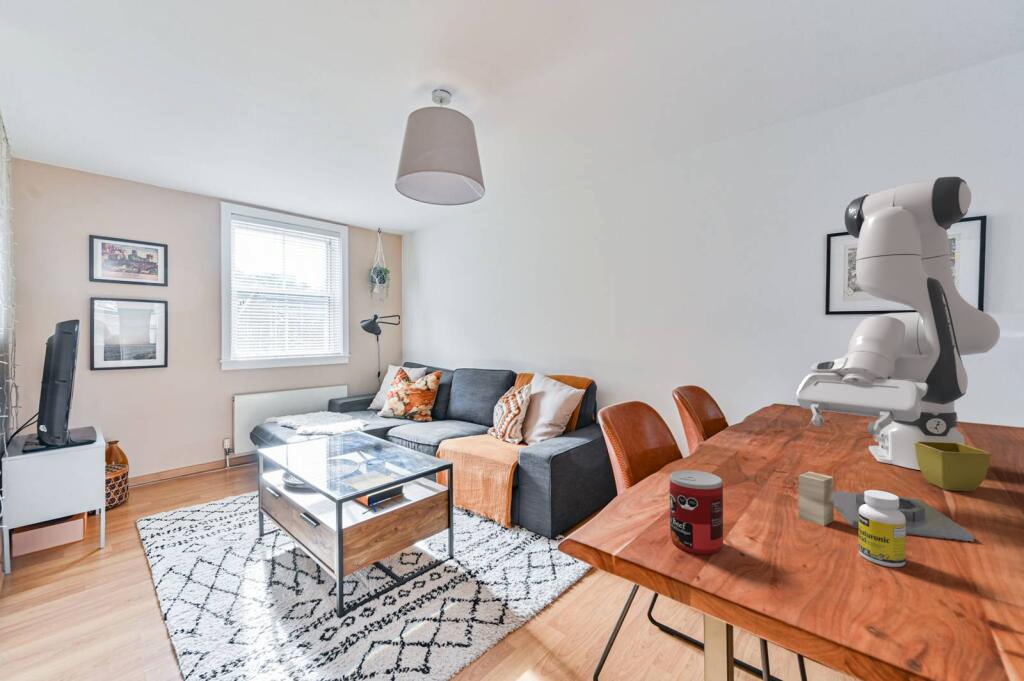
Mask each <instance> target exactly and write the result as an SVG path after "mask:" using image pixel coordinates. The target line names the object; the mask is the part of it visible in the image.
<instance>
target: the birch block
mask: <svg viewBox="0 0 1024 681" xmlns="http://www.w3.org/2000/svg"><path fill="white" fill-rule="evenodd" d="M834 484H835V483H834V476H831V475H825V474H821V473H816V472H814V471H809V470H808V471H807V472H804V473H801V474H799V475H798V519H800V520H803V521H806V522H809V523H812V524H816V525H819V526H822V527H825V526H827V525H828V524H830V523H832V522H834V520H835V518H834V517H835V514H834V512H835V511H834V510H835V507H834V491H835V490H834V488H835V487H834V486H835V485H834Z"/></svg>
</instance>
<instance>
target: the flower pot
mask: <svg viewBox="0 0 1024 681" xmlns="http://www.w3.org/2000/svg"><path fill="white" fill-rule="evenodd" d="M914 444H915V450H916V457H917V462H918V466H919V468H920V470H919V471H920V472H921V474H922V475H923V476H924V479H925V480H926V481H927V482H928V483H930V484H932V485H934V486H936V487H938V488H940V489H942V490H945V491H955V492H956V491H957V492H958V491H959V492H974V491H975V490H977V489H978V487H980V486H981V484H982V483H983V482H984V481H985V479H986V477H987V472H988V470H989V465H990V461H991V456H992V453H990V452H988V451H985V450H984V449H983V450H982V449H979V448H976V447H973V446H970V445H967V444H965V443H964V444H965V445H964V444H960V443H953V442H923V441H915V442H914Z"/></svg>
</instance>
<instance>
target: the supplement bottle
mask: <svg viewBox="0 0 1024 681" xmlns="http://www.w3.org/2000/svg"><path fill="white" fill-rule="evenodd" d="M863 493H864V499H865V502H866V504H863V505H861V506H860V508H859V528H858V552H859V555H861V557H862V558H864V559H866V560H868V561H869V562H872V563H874V564H877V565H879V566H880V565H881V566H884V567H890V568H899V567H903V566H905V565H906V560H907V559H906V558H907V557H906V553H907V550H906V548H907V544H906V543H907V541H906V538H907V536H906V535H907V534H906V520H905V516H904V514H903V513H902V512H901V511H899V510H897V508H899V497H900V496H899V497H898V495H896V494H894V493H891V492H888V491H884V490H883V491H882V490H876V489H868V490H864V491H863Z"/></svg>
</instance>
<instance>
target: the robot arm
mask: <svg viewBox="0 0 1024 681" xmlns="http://www.w3.org/2000/svg"><path fill="white" fill-rule="evenodd" d="M971 202H972V192H971V189H970V187H969V186H968V184H967V182H966V181H965V180H964V179H963V178H961V177H959V176H942V177H938V178H936V179H929V180H923V181H917V182H911V183H907V184H901V185H899V186H897V187H892V188H891V187H890V188H888V189H884V190H881V191H878V192H875V193H872V194H865V195H862V196H859V197H856V198H855V199H852V200H851V201H850V203H849V204H848V205H847V206H846V209H845V212H844V226H845V229H846V231H847V233H848V234H850V235H851V237H853V238H855V239H857V246H856V255H855V277H856V283H857V284H858V285H859V286H858V287H860V288H861V289H862V290H863V291H864V293H867V294H869V295H870V296H873V297H875V298H878V299H881V300H884V301H889V302H892V303H897V304H901V305H904V306H906V307H910V308H911V309H914V310H915V312H914V311H913V312H912V311H911V312H889V313H884V314H879V315H878V314H877V315H872V316H868V317H865V318H864V319H863V320H862V321H861V322H860V323H859V324H858V325H857V327H856V328H855V330H854V331H853V334H852V336H851V338H850V340H849V342H848V345H847V352H846V353H845V354H844V355H843V357H839V358H836V359H831V360H826V361H821V362H815V363H813V364H812V366H811V368H810V369H811V373H809V374H807V375H805V377H804V378H803V380H802V381H801V383H800V384H799V385H798V386H799V387H798V388H797V391H796V392H795V399H796V402H797V403H798V405H799V406H800V408H802V409H805V410H811V412H812V418H811V420H810V421H811V423H812V426H817V427H823V424H824V423H825V419H824V418H823V415H821V414H822V412H831V413H837V414H846V415H855V416H863V417H870V418H878V419H876V420H875V421H869V422H868V425H867V428H866V429H867V432H868V434H871V435H874V442H876V443H878V445H869V446H868V451H869V452H870V453H871V454H872V456H873V457H874V458H875V459H876V461H877V462H880V463H884V464H890V465H895V466H899V467H902V468H907V469H911V470H918V471H921V470H920V468H919V466H918V462H917V457H916V450H915V444H914V442H915V441H923V442H953V443H960V444H964V445H966V444H965V438H964V435H963V434H962V432H959V431H958V430H957V428H956V427H958V421H959V419H958V413H957V412H956V411H955V401H957V400H959V399H961V398H962V397H963V396H965V395H966V392H967V389H968V386H969V384H968V383H969V378H968V374H967V371H966V369H965V366H964V364H963V360H962V357H961V356H969V355H978V354H985V353H987V352H989V351H990V350H992V349H993V348H994V347H995V346H996V345H997V343H998V341H999V340H1000V336H1001V329H1000V327H999V323H998V322H997V321H996V319H995V318H994V317H993V316H991V315H990V314H988V313H987V312H984V311H982V310H980V309H978V308H976V307H974V306H973V305H971V304H970V303H969V302H967V301H966V300H965V299H964V297H962V296H961V295H960V293H959V291H958V290H957V288H956V285H955V282H954V278H953V270H952V264H951V263H952V261H951V260H952V259H951V249H950V248H951V246H950V240H949V235H948V231H947V230H949V229H951V227H952V226H953V225H954V224H956V223H958V222H960V221H961V220H962V219H963V218H964V217H965V216H967V214H968V211H969V208H970V206H971Z"/></svg>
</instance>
